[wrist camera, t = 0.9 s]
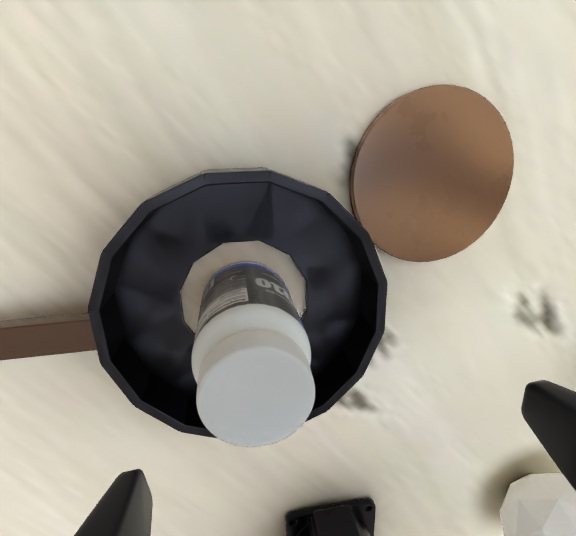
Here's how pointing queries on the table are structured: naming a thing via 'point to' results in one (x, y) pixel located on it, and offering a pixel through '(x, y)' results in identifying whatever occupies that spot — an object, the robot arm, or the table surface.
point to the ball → (539, 506)
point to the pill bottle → (251, 358)
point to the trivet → (432, 173)
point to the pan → (175, 267)
